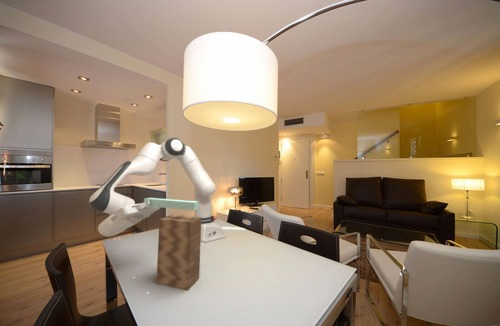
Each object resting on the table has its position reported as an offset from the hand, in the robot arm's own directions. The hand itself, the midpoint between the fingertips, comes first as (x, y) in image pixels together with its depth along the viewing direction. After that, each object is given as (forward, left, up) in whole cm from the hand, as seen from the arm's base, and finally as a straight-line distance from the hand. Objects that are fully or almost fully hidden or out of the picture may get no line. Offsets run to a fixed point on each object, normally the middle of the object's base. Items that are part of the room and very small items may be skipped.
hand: (154, 201), depth 79 cm
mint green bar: (-6, +6, -2) cm, 8 cm away
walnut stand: (-10, +10, -31) cm, 34 cm away
